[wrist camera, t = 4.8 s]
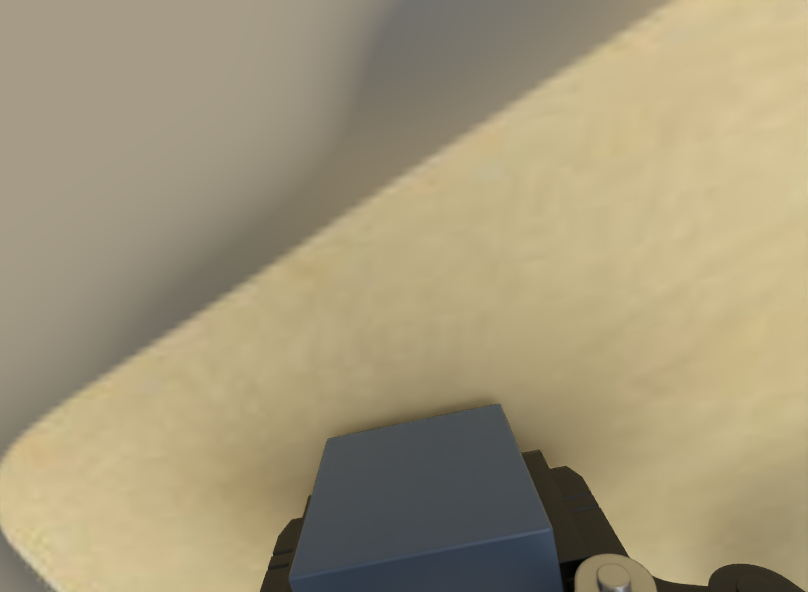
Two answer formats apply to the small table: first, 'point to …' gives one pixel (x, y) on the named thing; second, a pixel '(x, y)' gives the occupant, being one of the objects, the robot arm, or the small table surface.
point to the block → (427, 512)
